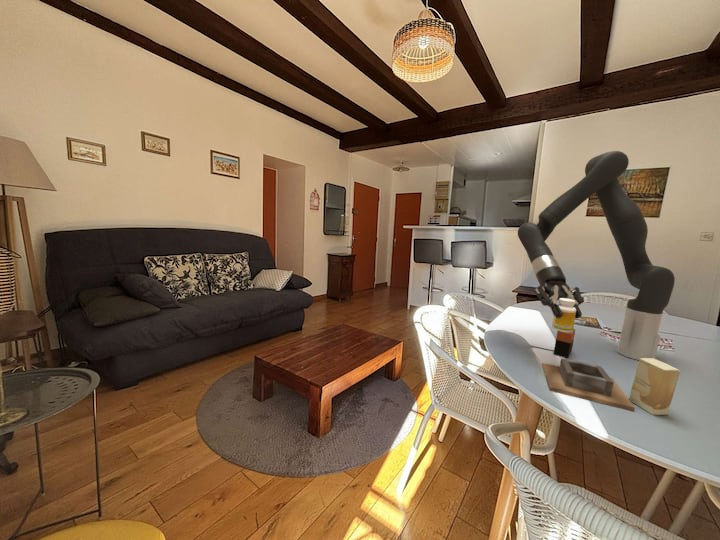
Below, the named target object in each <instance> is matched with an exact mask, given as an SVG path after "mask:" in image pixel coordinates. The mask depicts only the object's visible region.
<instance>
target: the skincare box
mask: <svg viewBox="0 0 720 540" xmlns="http://www.w3.org/2000/svg"><path fill="white" fill-rule="evenodd" d="M680 374H681V370H680V369H679V368H676V367H674V366H672V365H670V364H668V363H666V362H663V361H660V360H659V359H657V358H655V359H654V358H640V359H639V360H638V364H637V367H636V371H635V375H634V379H633V383H632V386H631V389H630V393H629V398H628V399H629V400H630V402H631V403H632V404H635V405H637V406H638V407H640V408H641V409H642V410H644V411H646V412H648V413H649V414H651V415H653V416H654V415H656V416H657V415H658V416H659V415H661V416H662V415H663V416H664V415H668V414H669V411H670V408H671V405H672V400H673V398H674V393H675V391H676V387H677V383H678V380H679V376H680Z"/></svg>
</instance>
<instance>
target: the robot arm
mask: <svg viewBox="0 0 720 540" xmlns="http://www.w3.org/2000/svg"><path fill="white" fill-rule="evenodd" d="M629 163H630V162H629V157H628V155H627V154H626V153H624V152H622V151H620V150H612V151H606V152H604V153H601V154H599V155H596V156H593V157H591V159H589V160H588V162H587V163H586V164H585V167H584V173H585V176H583V178H582V179H581V180H580V181H578V182H577V183H576V184H575V185H573V186H572V187H570V188H569V189H568V190H567V191H565V192H563V193H562V194H561V195H559V196H557V198H555V199H554V200H553V201H552V202H551V203H550V204H549V205H547V207H546V208H545V209H543V210H542V211H541V212H540V213H539V215H538V221H537V222H538V223H536V224H535V223H534V222H530V221H529V222H525V223H522V224H521V225H520V226H519V228H518V230H517V237H518V239H519V241H520V244H522V247H523V248H524V250H525V251H526V253H527V257H528V260H529V261H530V264H531V266H532V267H531V268H532V271H533V273H534V274H535V278H536V279H537V282H538V284H539V285H538V286H537V287H536V288H535V289H534V290H533V292H534V293H535V295H536V297H537V298H538V299H539V301H540V303H541V304H542V306H544V307H546V306H547V307H549V308H550V310H551V312H552V315H553V317H554V316H556V318H560V317H562V316H563V314H562V312H561V310H560V307H559V304H558V300H559V298H567V299H572V300H574V301H575V304H574V306H573V307H574V308H576V315H575V320H576V319H577V320H578V319H580V318H581V317H582V315H583V313H582V311H581V309H580V305H582V304H583V303H584V301H583V298H582V295H581V291H580V288H579V287H578V286H576V287H570V286H569V285H568V284H567V281H566V280H567V278H566V276H565V274H564V272H563V270H562V268H561V266H560V263H559V262H558V260H557V259H556V258H555V257H554V254H553V253H552V250H551V249H550V247H549V245H548V244H547V243H546V242H545V241H546V240H547V239H548V238H549V237H550V235H551V234H553V232H554V230H555V228H556V227H557V226H558V225H559V224H561V222H562V221H564V219H566V218H567V217H568V216H569V215H571V214H572V213H573V212H574V211H575V210H576V209H577V208H578V207H580V205H582V204H583V203H584V202H585V201H586V200H587V199H589V198H590V197H591V196H593V195H594V194H595V195H596V197H597V199H598V201H599V204H600V207H601V209H602V213H603V214H604V217H605V219H606V223H607V225H608V228H609V229H610V232H611V235H612V238H613V239H614V241H615V244H616V246H617V249H618V251H619V253H620V256H621V259H622V263H623V268H624V271H625V272H624V273H625V275H626V277H627V282H629V284H630V286H632V287H633V288H635V289H637V290H639V291H638V293H637V296H636V297H635V298H631V299H629V300H628V301H627V304H626V307H625V308H626V309H625V312H624V318H623V322H622V326H621V327H622V328H621V332H620V337H619V342H618V345H617V353H619V354H620V355H621V356H624V357H627V358H629V359H632V360H637V361H639V359H640V358H654V359H656V357H657V352H658V347H659V343H660V339H661V336H660V334H659V330H660V326H661V322H662V321H661V320H662V317H663V313H664V310H665V308H667V306H668V305H669V303H670V299H671V297H672V293H673V291H674V286H675V279H676V277H675V276H674V275H675V274H674V273H673V271H672V270H670V268H666V267H663V266H658V265H653V264H652V262H651V259H650V258H649V255H648V253H647V250H646V243H647V238H648V230H649V229H648V225H647V222H646V219H645V216H644V214H643V212H642V210H641V207H639V206H638V205H637V203H636V202H635V201H634V200H633V199H632V198H630V197H629V195H628V194H626V192H625V191H624V190H623V188H622V186H621V183H620V181H619V179H618V178H619V177H620V176H621V175H623V174H624V173H625V172H626V170H627V168H628V167H629Z"/></svg>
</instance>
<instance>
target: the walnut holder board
mask: <svg viewBox="0 0 720 540" xmlns="http://www.w3.org/2000/svg"><path fill="white" fill-rule="evenodd" d="M541 367H542V371H543V374H544V377H545V380H546V384H547V386H548V390H549V391H552V392H555V393H560V394H563V395H567V396H570V397H575V398H578V397H579V399H583V400H588V401H592V402H595V403H600V404H603V405H607V406H612V407H615V408H620V409H624V410H627V411H628V410H629V411H632V412H635V411H636V407H635V406H634V405H633V404H634V403H633V402H632V401H630V400H629V398H628V397H627V395H626V394H625V392H624V391H623V390H622V388H621V387H620V386H619V384H618V383H617V382H616V380H615V379H614V378H613V377H610V376H609V374H608V373H607V372H606V371H605V369H604V368H603V366H601V365H596V364H591V363H587V362H581V361H577V360H572V359H568V358H564V357H563V358H562V357H561V358H560V361H559V366H558V365H554V364H549V363H545V362H542V363H541Z"/></svg>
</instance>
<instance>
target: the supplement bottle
mask: <svg viewBox="0 0 720 540" xmlns="http://www.w3.org/2000/svg"><path fill="white" fill-rule="evenodd" d="M567 298H568V297H566V298H559V299H558V305H559V307H560V310H561V312H562V314H563V316H562V317H560V318H556V316H554V315H553V319H552V326H551V328H552V329H553V330H555V331H561V332H572V331H573V329H574V326H575V320H576V319H575V315H576V308H574V307H573V306H574V304H575V301H574V300H572V299H567Z"/></svg>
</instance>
